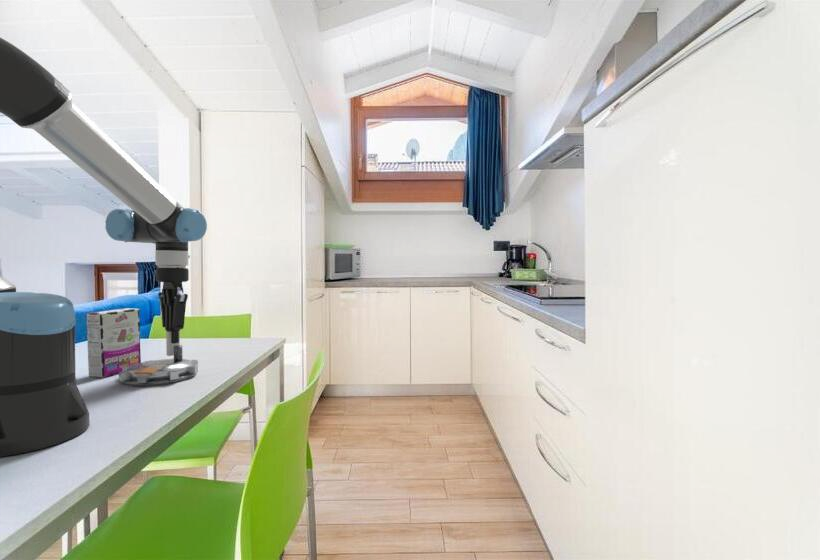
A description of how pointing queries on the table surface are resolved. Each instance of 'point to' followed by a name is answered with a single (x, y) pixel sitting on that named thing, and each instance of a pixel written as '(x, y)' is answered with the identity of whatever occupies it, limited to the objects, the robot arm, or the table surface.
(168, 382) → the bearing base
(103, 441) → the table surface
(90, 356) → the candy bar box
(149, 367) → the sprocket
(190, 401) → the table surface
